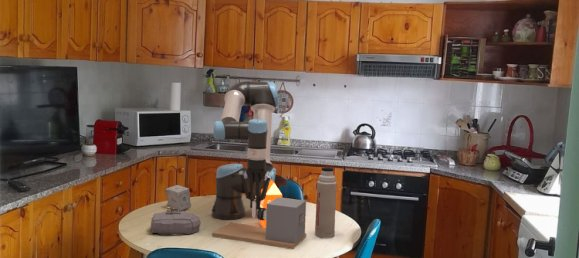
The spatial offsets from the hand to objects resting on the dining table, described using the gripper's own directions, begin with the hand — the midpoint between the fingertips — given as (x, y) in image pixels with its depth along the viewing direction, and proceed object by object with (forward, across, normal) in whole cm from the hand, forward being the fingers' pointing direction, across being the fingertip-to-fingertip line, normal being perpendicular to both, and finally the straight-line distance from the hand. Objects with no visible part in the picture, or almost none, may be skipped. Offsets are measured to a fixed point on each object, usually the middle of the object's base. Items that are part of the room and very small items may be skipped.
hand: (255, 216), depth 213 cm
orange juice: (+8, 0, +16) cm, 18 cm away
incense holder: (+8, -49, +21) cm, 54 cm away
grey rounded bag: (+9, -32, -8) cm, 34 cm away
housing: (+8, +2, 0) cm, 8 cm away
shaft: (+1, +11, 0) cm, 11 cm away
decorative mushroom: (+8, -11, +50) cm, 52 cm away
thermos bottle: (+8, +25, +14) cm, 30 cm away
